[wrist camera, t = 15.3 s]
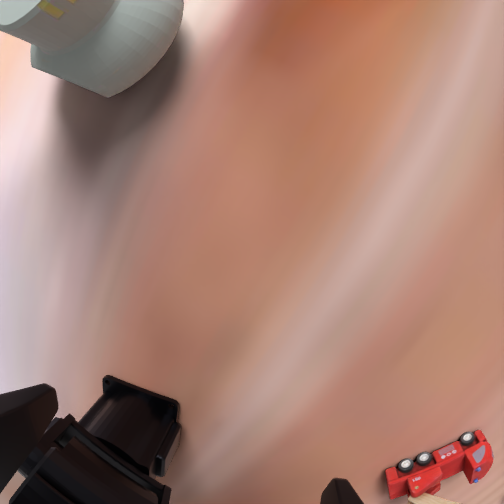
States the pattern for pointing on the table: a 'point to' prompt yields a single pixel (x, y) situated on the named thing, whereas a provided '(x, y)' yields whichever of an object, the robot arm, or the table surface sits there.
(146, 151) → the table surface
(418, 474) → the toy fire truck
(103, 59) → the air freshener
